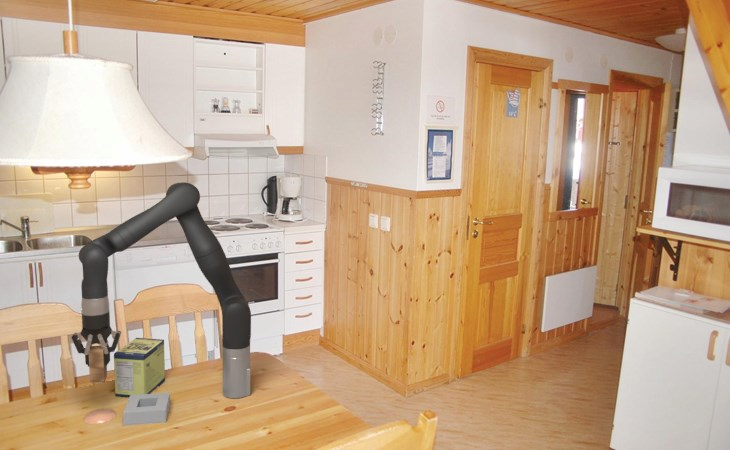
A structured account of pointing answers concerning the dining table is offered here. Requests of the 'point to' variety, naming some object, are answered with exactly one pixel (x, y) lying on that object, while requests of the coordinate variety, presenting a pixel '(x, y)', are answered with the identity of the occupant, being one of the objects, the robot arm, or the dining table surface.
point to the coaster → (99, 416)
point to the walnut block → (97, 364)
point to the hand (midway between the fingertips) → (97, 364)
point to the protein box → (139, 367)
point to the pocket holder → (146, 409)
